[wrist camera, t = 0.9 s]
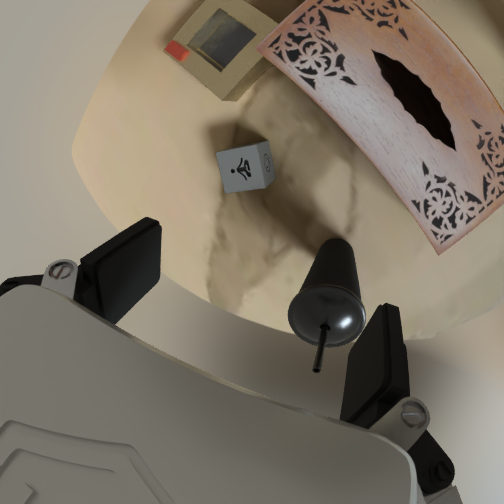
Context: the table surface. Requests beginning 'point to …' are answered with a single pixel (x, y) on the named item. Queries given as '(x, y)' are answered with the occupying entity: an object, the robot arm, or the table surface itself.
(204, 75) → the socket block
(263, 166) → the dice cube
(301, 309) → the drinking cup
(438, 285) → the table surface
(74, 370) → the robot arm
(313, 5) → the tissue box cover
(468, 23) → the table surface
